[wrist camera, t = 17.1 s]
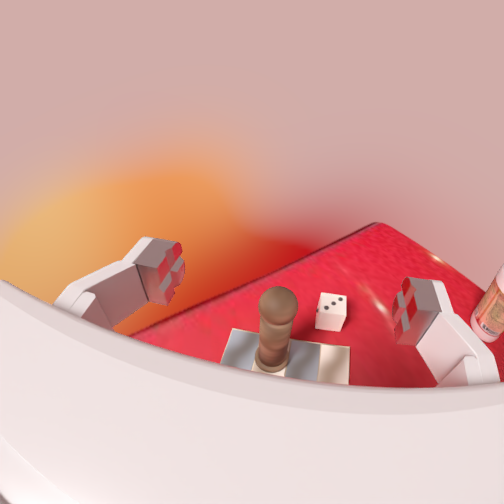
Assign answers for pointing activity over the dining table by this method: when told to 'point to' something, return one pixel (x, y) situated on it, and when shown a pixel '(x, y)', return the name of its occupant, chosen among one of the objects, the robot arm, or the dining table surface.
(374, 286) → the dining table surface
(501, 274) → the fruit juice
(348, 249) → the dining table surface
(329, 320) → the die
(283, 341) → the pawn
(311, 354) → the board
